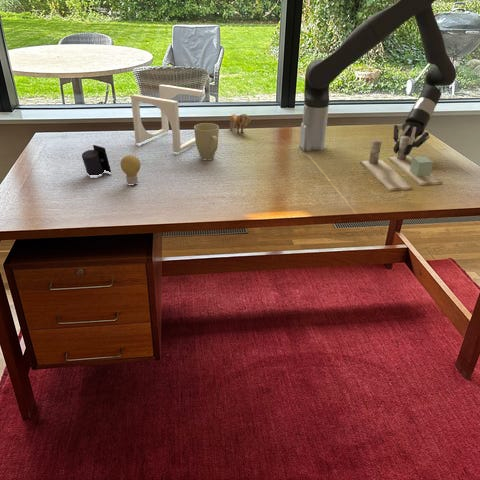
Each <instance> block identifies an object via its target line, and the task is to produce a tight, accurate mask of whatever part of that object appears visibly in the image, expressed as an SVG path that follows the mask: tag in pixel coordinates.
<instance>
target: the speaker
mask: <svg viewBox="0 0 480 480" xmlns="http://www.w3.org/2000/svg"><path fill="white" fill-rule="evenodd" d="M81 158H82V162H83V164H84V167H85V171H86V174H87V173H88V174H89V175H99V174H102V173H103V172H104V170H106V171H109V172H111V173H112V170H111V166H110V161H109V159H108V155H107V151H106V148H105V147H103V146H101V145H100V146H99V145H95V144H93V145H92V149H89V150H85V151H84V152H82V153H81Z"/></svg>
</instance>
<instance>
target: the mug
mask: <svg viewBox="0 0 480 480" xmlns="http://www.w3.org/2000/svg"><path fill="white" fill-rule="evenodd" d="M193 129H194V131H193V132H194V138H195V140H196V145H195V146H196V149H197V151H198V155H199V157H200V159H201V158H202V159H206V160H205V161H209V160H208V159H212V160H213V159H214V158H215V155H216V151H217V150H218V146H219V130H220V127H219V125H218V124H215V123H211V122H203V123H198V124H195V125H194V126H193ZM202 159H201V160H202Z"/></svg>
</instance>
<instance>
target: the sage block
mask: <svg viewBox="0 0 480 480" xmlns="http://www.w3.org/2000/svg"><path fill="white" fill-rule="evenodd" d="M411 158H412V162H411V167H410V171H411V172H412V173H413V174H414V175H416V176H430V174H431V173H432V170H433V165H434V161H433V160H432V159H430V158H429V157H427V155H426V156H413V157H412V156H411Z"/></svg>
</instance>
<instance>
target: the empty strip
mask: <svg viewBox="0 0 480 480" xmlns="http://www.w3.org/2000/svg"><path fill="white" fill-rule="evenodd" d="M370 147H371V148H370V154H369V160H360V164H361V165H362V166H363V167H364V168H365V169H366V170H367V171H368V172H369V173H371V175H372V176H374V178H375V179H376V180H378V181H379V182H380V183H381V184H382V185H383V186H384V187H385V188H386V189H387V190H388V191H392V192H393V191H402V190H403V191H404V190H405V191H406V190H412V189H413V185H411V184H410V183H409V182H408V181H406V179H404V178H403V177H402V176H401V175H399V173H397V172H396V171H395V170H394V169H393V168H392V167H391V166H389V164H387V163H386V162H385V161H383V160H382V159H380V153H381V147H382V140H380V139H372V141H371V146H370Z"/></svg>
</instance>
